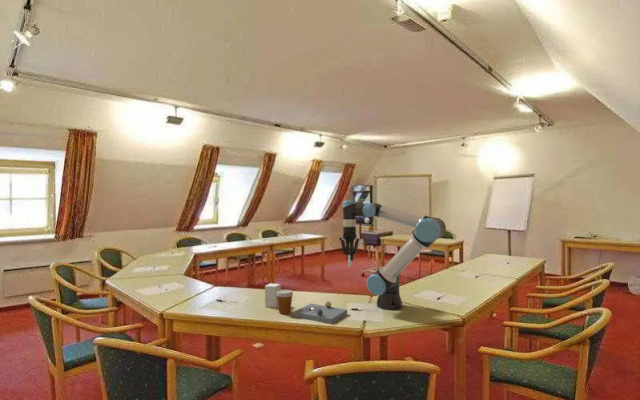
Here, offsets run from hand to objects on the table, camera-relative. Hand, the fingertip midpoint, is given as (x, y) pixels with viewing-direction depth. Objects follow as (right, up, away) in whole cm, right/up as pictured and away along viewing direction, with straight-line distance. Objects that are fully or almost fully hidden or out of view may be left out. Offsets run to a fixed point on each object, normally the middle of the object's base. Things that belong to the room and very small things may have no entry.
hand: (350, 265), depth 216 cm
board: (-18, -25, -15) cm, 34 cm away
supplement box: (-46, -25, +3) cm, 53 cm away
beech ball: (-13, -20, -10) cm, 26 cm away
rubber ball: (-18, -21, -23) cm, 36 cm away
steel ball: (-22, -23, -13) cm, 34 cm away
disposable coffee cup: (-38, -25, -10) cm, 46 cm away
